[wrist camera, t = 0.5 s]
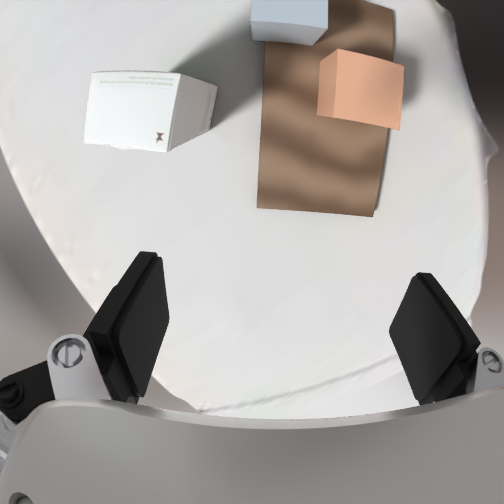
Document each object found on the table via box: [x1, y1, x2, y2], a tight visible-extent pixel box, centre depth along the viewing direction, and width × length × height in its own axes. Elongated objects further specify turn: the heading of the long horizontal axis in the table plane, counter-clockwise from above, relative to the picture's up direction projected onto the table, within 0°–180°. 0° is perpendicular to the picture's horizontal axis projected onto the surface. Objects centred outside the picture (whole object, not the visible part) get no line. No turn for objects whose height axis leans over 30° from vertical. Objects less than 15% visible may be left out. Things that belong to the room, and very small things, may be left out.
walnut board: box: [257, 0, 393, 217], centre depth 29 cm, size 30×16×2 cm, turn 177°
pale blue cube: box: [250, 0, 328, 46], centre depth 20 cm, size 7×7×8 cm
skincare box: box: [84, 71, 218, 152], centre depth 24 cm, size 8×7×16 cm
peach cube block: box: [317, 49, 404, 130], centre depth 24 cm, size 7×7×8 cm
